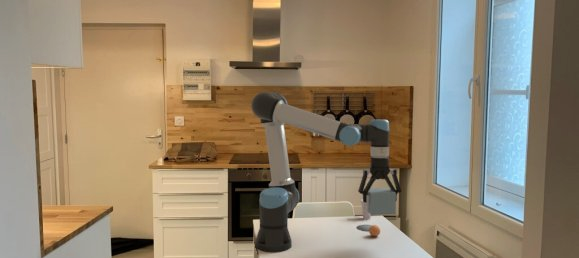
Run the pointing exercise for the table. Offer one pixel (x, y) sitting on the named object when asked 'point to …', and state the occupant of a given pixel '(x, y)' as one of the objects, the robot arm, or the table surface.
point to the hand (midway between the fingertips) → (379, 209)
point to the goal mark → (364, 227)
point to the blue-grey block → (381, 201)
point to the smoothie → (365, 212)
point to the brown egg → (374, 230)
